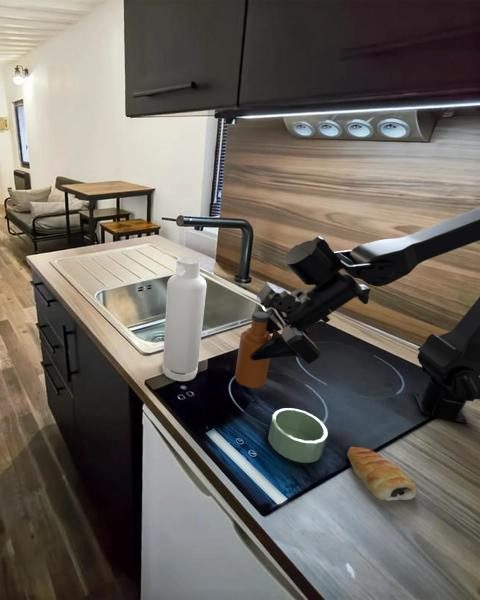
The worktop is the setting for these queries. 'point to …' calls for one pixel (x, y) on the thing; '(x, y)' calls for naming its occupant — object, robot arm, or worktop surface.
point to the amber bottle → (250, 341)
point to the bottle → (184, 320)
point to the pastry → (381, 475)
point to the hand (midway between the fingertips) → (247, 349)
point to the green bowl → (297, 435)
